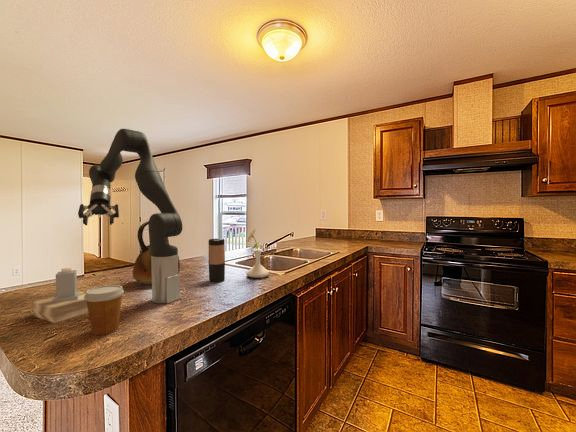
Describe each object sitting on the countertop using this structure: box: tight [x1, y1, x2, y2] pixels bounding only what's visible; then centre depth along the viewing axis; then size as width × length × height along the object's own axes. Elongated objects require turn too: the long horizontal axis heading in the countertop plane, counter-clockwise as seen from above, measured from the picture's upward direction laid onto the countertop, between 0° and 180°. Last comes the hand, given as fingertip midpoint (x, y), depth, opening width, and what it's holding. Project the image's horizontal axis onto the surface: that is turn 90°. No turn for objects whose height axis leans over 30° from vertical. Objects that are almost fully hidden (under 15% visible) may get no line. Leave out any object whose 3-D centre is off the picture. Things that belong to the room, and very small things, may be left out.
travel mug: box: [208, 238, 226, 284], centre depth 132 cm, size 8×8×20 cm
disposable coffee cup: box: [84, 284, 125, 336], centre depth 79 cm, size 10×10×12 cm
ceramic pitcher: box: [132, 220, 181, 285], centre depth 129 cm, size 20×20×30 cm
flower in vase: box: [246, 228, 270, 279], centre depth 138 cm, size 13×11×25 cm
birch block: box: [32, 291, 89, 324], centre depth 92 cm, size 13×13×5 cm
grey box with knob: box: [53, 267, 81, 303], centre depth 92 cm, size 6×6×10 cm
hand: (98, 223), depth 113 cm, fingers open, 8 cm apart
